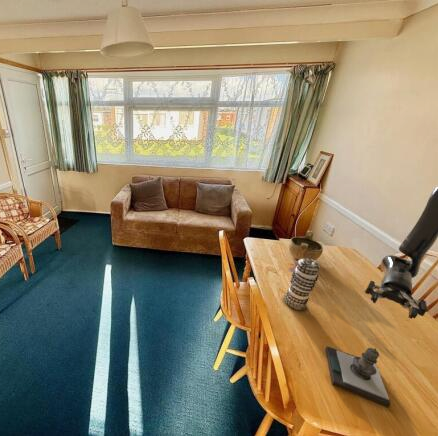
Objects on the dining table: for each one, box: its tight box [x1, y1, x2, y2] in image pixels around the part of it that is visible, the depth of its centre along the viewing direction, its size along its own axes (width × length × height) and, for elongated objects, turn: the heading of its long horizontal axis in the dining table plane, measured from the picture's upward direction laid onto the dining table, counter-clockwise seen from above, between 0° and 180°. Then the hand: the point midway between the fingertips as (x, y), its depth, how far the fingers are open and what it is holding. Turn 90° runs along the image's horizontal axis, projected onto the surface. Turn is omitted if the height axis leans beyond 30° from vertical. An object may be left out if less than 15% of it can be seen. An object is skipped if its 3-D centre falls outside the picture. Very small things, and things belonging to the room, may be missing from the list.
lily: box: [287, 258, 298, 273], centre depth 125 cm, size 12×12×10 cm
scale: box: [324, 346, 392, 409], centre depth 77 cm, size 14×14×4 cm
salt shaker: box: [350, 347, 380, 380], centre depth 74 cm, size 6×6×12 cm
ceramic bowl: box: [288, 230, 324, 261], centre depth 138 cm, size 22×17×15 cm
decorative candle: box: [284, 258, 321, 311], centre depth 102 cm, size 9×9×25 cm
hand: (392, 308), depth 74 cm, fingers open, 8 cm apart
